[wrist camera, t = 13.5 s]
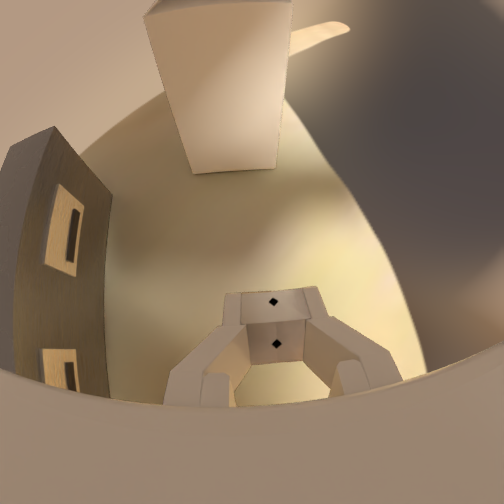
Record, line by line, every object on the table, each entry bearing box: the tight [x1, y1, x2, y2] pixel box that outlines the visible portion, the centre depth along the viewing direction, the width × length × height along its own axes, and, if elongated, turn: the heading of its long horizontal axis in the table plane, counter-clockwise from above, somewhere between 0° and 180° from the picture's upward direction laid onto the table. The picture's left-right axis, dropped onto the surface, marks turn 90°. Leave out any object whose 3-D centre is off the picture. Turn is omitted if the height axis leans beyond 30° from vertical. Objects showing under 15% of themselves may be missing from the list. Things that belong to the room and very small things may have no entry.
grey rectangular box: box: [0, 126, 112, 398], centre depth 14 cm, size 22×6×10 cm, turn 5°
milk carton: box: [143, 0, 293, 174], centre depth 14 cm, size 7×7×19 cm
